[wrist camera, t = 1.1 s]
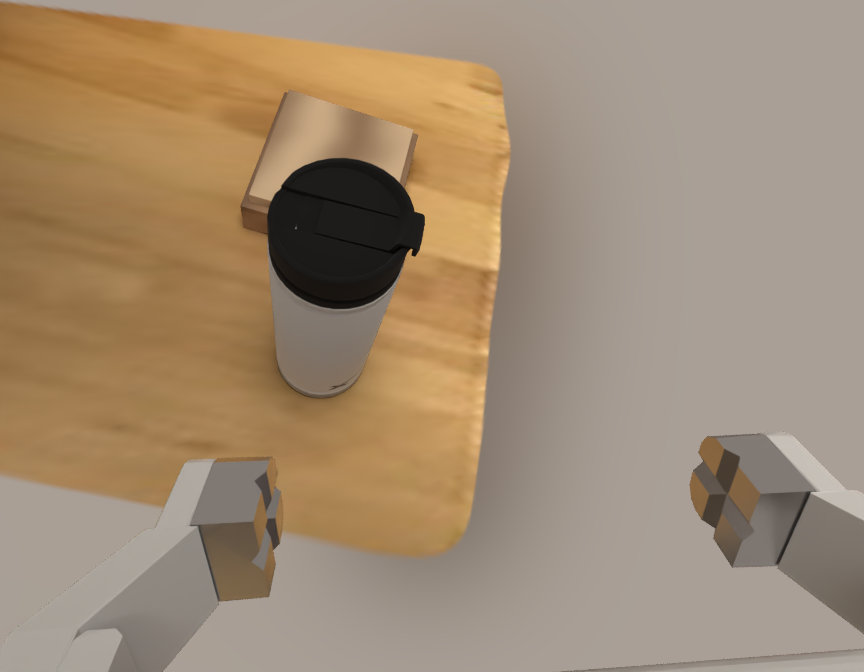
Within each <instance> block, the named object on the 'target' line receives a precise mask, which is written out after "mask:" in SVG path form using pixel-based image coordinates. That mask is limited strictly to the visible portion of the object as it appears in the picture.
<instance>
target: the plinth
mask: <svg viewBox="0 0 864 672" xmlns="http://www.w3.org/2000/svg"><path fill="white" fill-rule="evenodd" d="M417 138H418V135H417V134H414V133H413V129H410V128H407V127H404V126H401V125H398V124H395V123H392V122H389V121H385V120H382V119H379V118H376V117H373V116H370V115H367V114H364V113H361V112H358V111H354V110H351V109H348V108H345V107H342V106H339V105H336V104H333V103H330V102H327V101H323V100H320V99H317V98H314V97H311V96H308V95H305V94H302V93H299V92H296V91H292V90H289V91H288V93H286V92H285V93H284V96H283V98H282V101H281V103H280V106H279V108H278V111H277V114H276V116H275V119H274V121H273V124H272V126H271V129H270V132H269V134H268V137H267V139H266V142H265V144H264V147H263V150H262V152H261V155H260V157H259V160H258V163H257V165H256V168H255V170H254V173H253V175H252V178H251V181H250V183H249V186H248V188H247V191H246V193H245V196H244V199H243V201H242V204H241V212H242V218H243V224H244V227H245V228H248V229H252V230H255V231H259V232H262V233H266V234H268V229H267V215H268V210H269V205H270V203H271V201H272V199H273V197H274V195H275V193H276V192H277V191H279V190H280V189H281V185H282V184H283V183H284V181H285V180H286V179H287V178H288V177H289V176H290V175H291V173H292V172H294V171H295V170H297V169H299V168H301V167H302V166H304V165H307V164H309V163H312V162H315V161H318V160H324V159H329V158H350V159H357V160H361V161H365V162H368V163H371V164H373V165H375V166H377V167H379V168H382V169H384V170H385V171H386V172H388V173H389V174H390V175H392V176H393V177H395V179H396V180H397V181H398V182H399V183H400V184H401V185H402V186H403V187H404V188H405V184H406V180H407V176H408V172H409V169H410V165H411V161H412V157H413V153H414V149H415V145H416V142H417Z"/></svg>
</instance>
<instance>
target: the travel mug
mask: <svg viewBox="0 0 864 672" xmlns="http://www.w3.org/2000/svg"><path fill="white" fill-rule="evenodd" d="M424 225H425V216H424V215H423V214H420V213H417V212H414V207H413V204H412V202H411V199H410V197H409V195H408V194H407V192H406V190H405V189H404V187H403V186H402V185H401V184H400V183H399V182H398V181H397V180H396V179H395V177H393V176H392V175H390V174H389V173H388V172H386V171H385V170H384V169H382V168H379V167H377V166H375V165H373V164H371V163H368V162H365V161H361V160H357V159H350V158H329V159H324V160H318V161H315V162H312V163H309V164H307V165H304V166H302V167H301V168H299V169H297V170H295V171H294V172H292V173H291V175H290V176H289V177H288V178H287V179H286V180H285V181H284V183H283V184H282V185H281V189H280V190H279V191H277V192H276V193H275V195H274V197H273V199H272V201H271V203H270V205H269V210H268V215H267V229H268V261H269V273H270V285H271V296H272V308H273V319H274V331H275V342H276V354H277V363H278V367H279V370H280V373H281V375H282V377H283V378H284V380H285V381H286V382H287V383H288V385H290V386H291V387H292V388H293V389H294V390H296V391H298V392H299V393H301V394H304V395H307V396H310V397H316V398H328V397H332V396H336V395H338V394H341V393H343V392H345V391H346V390H347V389H349V388H350V387H351V386H352V385H353V384H354V383H355V382H356V381H357V379H358V378H359V376H360V374H361V372H362V370H363V367H364V365H365V362H366V360H367V357H368V355H369V352H370V350H371V347H372V344H373V342H374V339H375V337H376V334H377V332H378V329H379V327H380V324H381V322H382V319H383V317H384V314H385V312H386V309H387V307H388V304H389V302H390V299H391V297H392V294H393V292H394V289H395V287H396V284H397V281H398V279H399V276H400V274H401V271H402V268H403V263H404V260H405V257H406V254H407V252H408V251H409V250H410V249H413V251H412V256H416V255H417V253H418V252H419V249H420V246H421V242H422V237H423V231H424Z"/></svg>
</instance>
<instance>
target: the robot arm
mask: <svg viewBox="0 0 864 672" xmlns="http://www.w3.org/2000/svg"><path fill="white" fill-rule="evenodd" d="M698 453H699V455H700V456H701V458H702V460H703V462H702V463H701V464H700V465H699V466H698V467H697V468H695V469H694V470H693V473H692V477H691V481H690V492H691V499H692V502H693V505H694V508H695V510H696V511H697V513H698V515H699V516H700V518H701V519H702V520H703V521H705V522H706V523H708V524H709V525H711V526H712V527H714V528H715V533H714V540H715V542H716V543H717V545H718V546H719V548H720V549H721V551H722V552H723V554H724V556H725V557H726V559H727V560H728V562H729V563H730V565H731V566H732V568H733V567H763V566H778V569H779V570H780V571H782V572H783V573H784V574H786V575H787V576H788V577H790V578H791V579H792V580H794V581H795V582H796V583H798V584H799V585H800V586H801V587H803V588H804V589H805V590H807V591H808V592H809V593H811V594H812V595H813V596H814V597H816V598H817V599H818V600H820V601H821V602H822V603H824V604H825V605H827V606H828V607H829V608H830V609H832V610H833V611H834V612H836V613H837V614H838V615H839V616H841V617H842V618H843V619H845V620H846V621H847V622H849V623H850V624H852V625H853V626H854V627H855V628H857V629H858V630H859V631H860V632H862V633H863V634H864V494H862V493H860V492H858V491H856V490H846V489H845V488H844V487H843V486H842V485H841V484H840V483H839V482H838V481H837V480H836V479H835V478H834V477H833V476H832V475H831V474H830V473H829V472H828V471H827V470H826V469H825V468H824V467H823V466H822V465H821V464H820V463H819V462H818V461H817V460H816V459H815V458H814V457H813V456H812V455H811V454H810V453H809V452H808V451H807V450H806V449H805V448H804V447H803V446H802V445H801V444H800V443H799V442H798V441H797V440H796V439H795V438H794V437H793V436H792V435H790V434H788V433H786V432H784V431H783V432H768V433H758V434H743V435H725V436H707V437H706V438H705V439H704V440H703V442H702V443H701V446H700V450H699V452H698ZM277 474H278V472H277V468H276V463H275V459H274V458H273V457H246V458H217V459H189V460H188V461H187V462H186V463H185V464H184V465H183V466H182V469H181V471H180V473H179V475H178V478H177V480H176V482H175V484H174V486H173V489H172V491H171V493H170V495H169V497H168V500H167V502H166V504H165V506H164V509H163V511H162V513H161V515H160V517H159V520H158V522H157V524H156V526H155V528H151V529H145V530H144V531H142V532H141V533H140V534H138V535H137V536H136V537H135V538H133V539H132V540H131V541H129V542H128V543H127V544H125V545H124V546H123V547H121V548H120V549H119V550H118V551H116V552H115V553H114V554H112V555H111V556H110V557H108V558H107V559H106V560H105V561H103V562H102V563H101V564H99V565H98V566H97V567H95V568H94V569H93V570H91V571H90V572H89V573H87V574H86V575H85V576H84V577H82V578H81V579H80V580H78V581H77V582H76V583H74V584H73V585H72V586H70V587H69V588H68V589H67V590H65V591H64V592H63V593H61V594H60V595H59V596H58V597H56V598H55V599H54V600H52V601H51V602H50V603H48V604H47V605H46V606H44V607H43V608H42V609H40V610H39V611H38V612H37V613H35V614H34V615H33V616H31V617H30V618H29V619H27V620H26V621H25V622H23V623H22V624H21V625H20V626H18V627H17V628H16V629H15V630H13V631H12V632H10V634H9V636H8V637H7V639H6V640H5V642H4V644H3V646H2V647H1V649H0V672H163V670H164V669H165V668H166V667H167V666H168V665H169V664H170V662H171V661H172V660H173V659H174V657H175V656H176V655H177V654H178V653H179V652H180V650H181V649H182V648H183V647H184V646H185V644H186V643H187V642H188V641H189V640H190V638H191V637H192V636H193V635H194V634H195V632H196V631H197V630H198V629H199V628H200V626H201V625H202V624H203V623H204V622H205V620H206V619H207V618H208V617H209V616H210V615H211V613H212V612H213V611H214V610H215V609H216V607H217V606H218V605H219V603H218V602H219V601H229V600H241V599H252V598H262V597H269V595H270V590H271V585H272V579H273V575H274V570H275V565H276V564H275V558H274V552H273V550H274V549H275V548H276V547H277V546H278V545H279V544H280V539H281V534H282V524H283V504H282V496H281V491H279V490H278V489H277V488H276V487H275V484H276V479H277ZM562 672H864V649H855V650H842V651H828V652H815V653H801V654H789V655H775V656H762V657H748V658H735V659H722V660H710V661H696V662H683V663H671V664H656V665H643V666H631V667H616V668H603V669H589V670H576V671H562Z"/></svg>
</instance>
